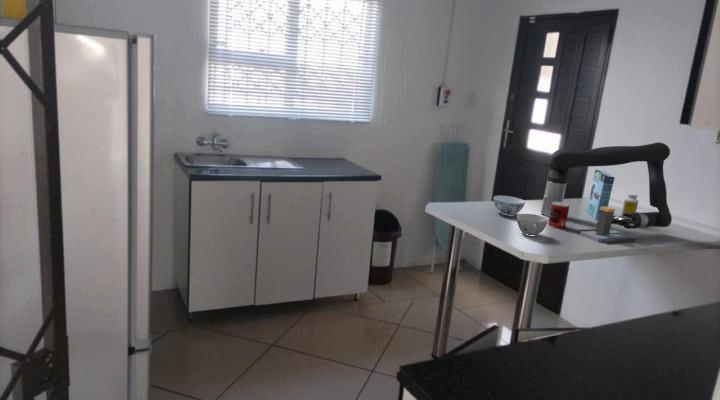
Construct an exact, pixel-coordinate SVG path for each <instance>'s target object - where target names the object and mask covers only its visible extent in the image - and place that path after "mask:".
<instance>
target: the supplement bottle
mask: <svg viewBox="0 0 720 400" xmlns="http://www.w3.org/2000/svg"><path fill="white" fill-rule="evenodd" d="M638 196H639V195H638V194H637V193H630V192H628V193H627V197H625V198H624V200H623V205H622V209H621V214H620V215H623V214H624V213H627V212H637V210H638V204H639V200H638V199H637V198H638Z"/></svg>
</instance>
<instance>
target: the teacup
mask: <svg viewBox="0 0 720 400" xmlns="http://www.w3.org/2000/svg"><path fill="white" fill-rule="evenodd" d="M516 218H517V219H516V220H517V225H518V229H519V230H520V232H521V233H522V232H523V233H525V234H528V235H537V236H538V235H539V234H540V235H541V233H542V232H543V231H544V230H545V228H546V226H547V224H548V222H549V218H547V217H545V216H543V215H542V216H541V214H533V213H517V215H516ZM523 233H522V234H523Z"/></svg>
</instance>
